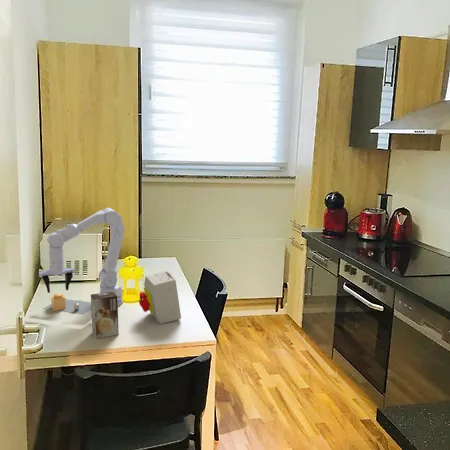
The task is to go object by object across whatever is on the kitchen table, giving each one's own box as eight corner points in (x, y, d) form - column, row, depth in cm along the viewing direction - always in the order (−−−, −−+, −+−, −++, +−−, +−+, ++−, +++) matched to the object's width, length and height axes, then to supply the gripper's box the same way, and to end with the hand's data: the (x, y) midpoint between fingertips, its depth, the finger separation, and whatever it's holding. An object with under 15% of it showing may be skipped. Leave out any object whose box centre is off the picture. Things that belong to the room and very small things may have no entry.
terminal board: (100, 306, 223) (100, 303, 223) (83, 317, 210) (83, 314, 210) (61, 301, 228) (61, 298, 228) (42, 312, 215) (42, 308, 215)
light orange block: (63, 305, 220) (62, 292, 218) (65, 308, 215) (65, 295, 214) (51, 307, 217) (50, 294, 216) (53, 310, 213) (53, 297, 212)
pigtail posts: (80, 309, 215) (79, 303, 214) (77, 311, 213) (77, 304, 212) (57, 307, 217) (57, 300, 217) (55, 308, 216) (54, 302, 215)
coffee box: (114, 329, 199) (113, 290, 196) (119, 334, 194) (118, 295, 190) (91, 332, 195) (90, 294, 192) (95, 339, 189) (94, 299, 186)
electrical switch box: (139, 318, 216) (131, 275, 211) (171, 309, 221) (165, 267, 216) (147, 331, 203) (139, 286, 198) (181, 321, 208) (175, 277, 203)
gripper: (71, 256, 219) (72, 286, 222) (37, 260, 212) (38, 290, 215) (75, 260, 213) (76, 290, 216) (39, 264, 206) (41, 295, 209)
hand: (57, 290), depth 215 cm, fingers open, 7 cm apart
